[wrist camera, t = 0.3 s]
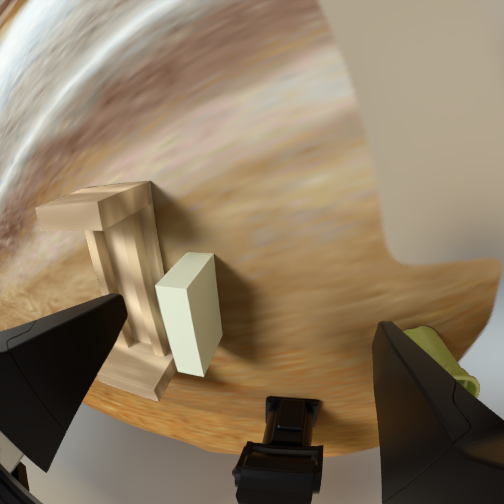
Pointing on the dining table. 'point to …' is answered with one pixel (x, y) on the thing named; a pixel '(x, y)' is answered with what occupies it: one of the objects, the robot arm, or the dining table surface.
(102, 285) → the wooden u-shaped holder
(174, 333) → the pale green rectangular block
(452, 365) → the plant pot
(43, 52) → the dining table surface
